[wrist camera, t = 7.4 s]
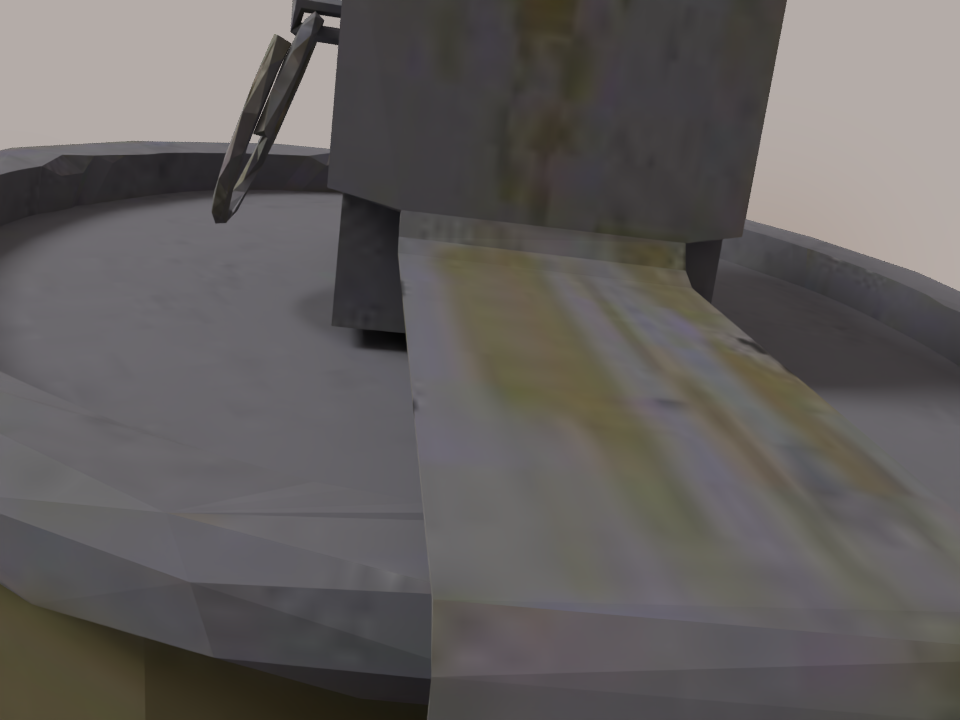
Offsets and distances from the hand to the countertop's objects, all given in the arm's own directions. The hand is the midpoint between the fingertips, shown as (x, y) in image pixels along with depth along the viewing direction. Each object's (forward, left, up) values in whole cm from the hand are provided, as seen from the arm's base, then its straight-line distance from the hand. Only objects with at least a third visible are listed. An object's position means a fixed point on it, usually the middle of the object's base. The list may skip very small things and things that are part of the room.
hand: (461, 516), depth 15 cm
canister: (+4, +4, -11) cm, 12 cm away
